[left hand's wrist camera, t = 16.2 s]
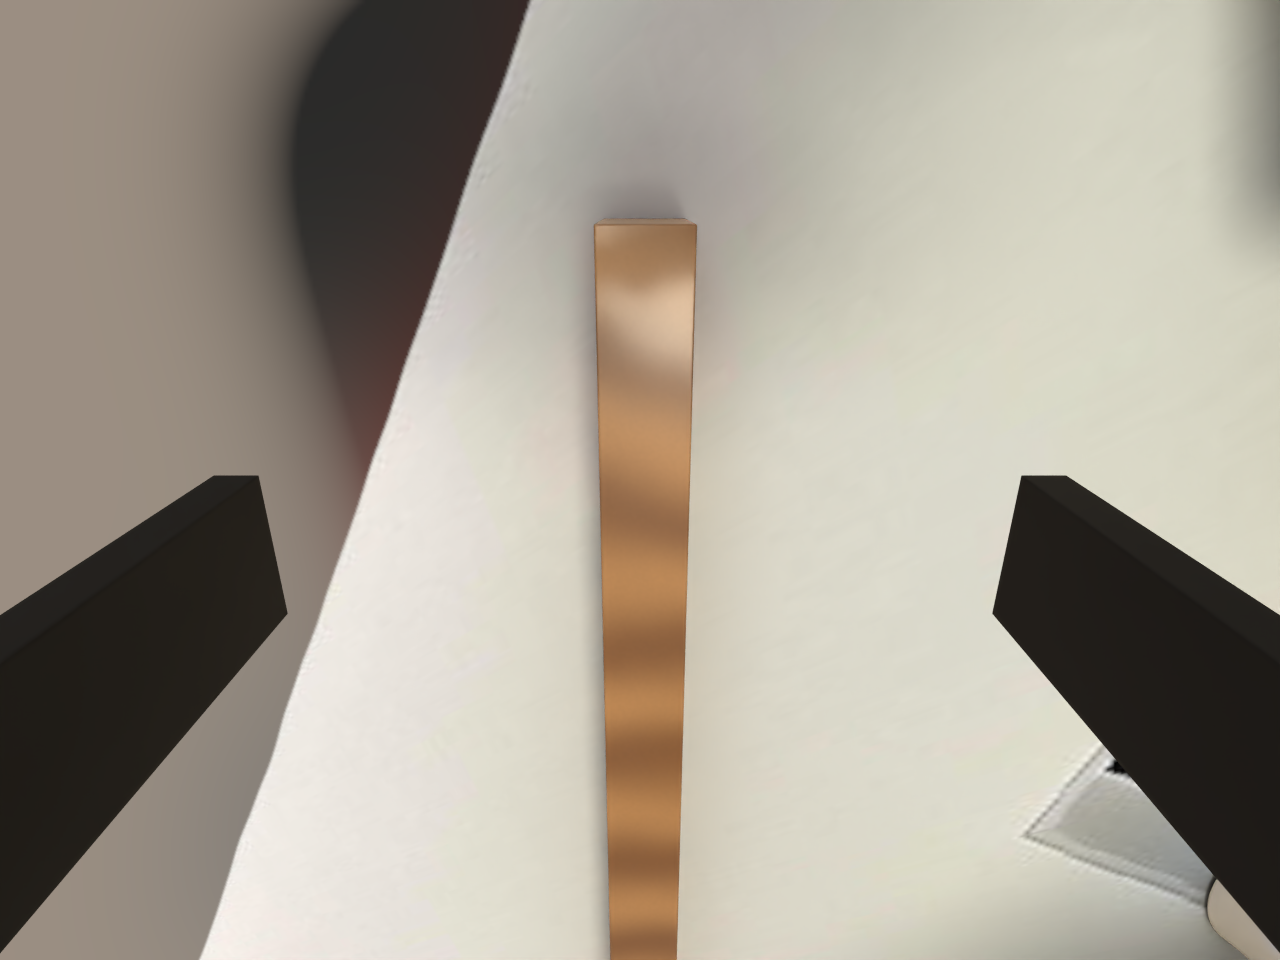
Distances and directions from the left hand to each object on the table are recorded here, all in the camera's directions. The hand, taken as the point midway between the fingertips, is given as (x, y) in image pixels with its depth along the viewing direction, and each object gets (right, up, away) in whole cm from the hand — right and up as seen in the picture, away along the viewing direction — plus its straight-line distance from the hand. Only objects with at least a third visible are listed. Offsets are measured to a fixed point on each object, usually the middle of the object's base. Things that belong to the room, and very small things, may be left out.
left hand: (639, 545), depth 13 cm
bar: (0, -20, +41) cm, 46 cm away
